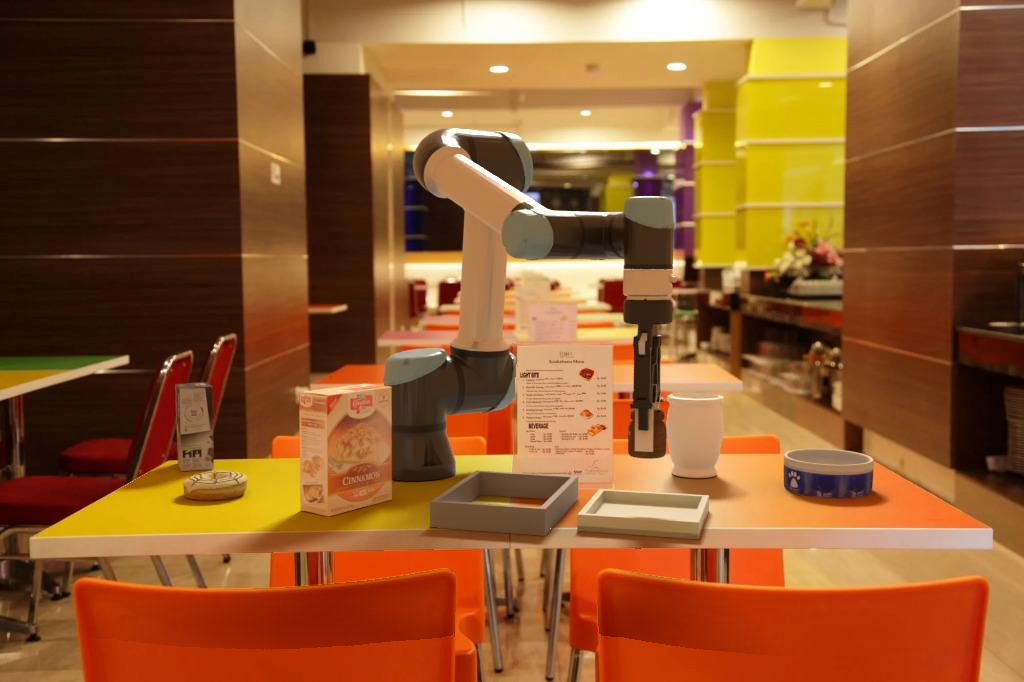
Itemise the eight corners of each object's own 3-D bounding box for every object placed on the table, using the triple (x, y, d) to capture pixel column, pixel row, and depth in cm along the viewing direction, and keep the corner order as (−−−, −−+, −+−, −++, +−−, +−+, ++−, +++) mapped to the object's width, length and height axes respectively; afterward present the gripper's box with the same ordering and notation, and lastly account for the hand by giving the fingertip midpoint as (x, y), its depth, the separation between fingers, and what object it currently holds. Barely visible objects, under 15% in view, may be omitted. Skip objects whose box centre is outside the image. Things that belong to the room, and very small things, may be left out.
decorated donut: (184, 491, 185) (184, 470, 185) (247, 488, 188) (246, 467, 188) (182, 504, 175) (181, 482, 175) (248, 500, 178) (248, 478, 178)
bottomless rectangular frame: (429, 527, 160) (429, 501, 159) (476, 493, 183) (476, 470, 182) (545, 535, 155) (545, 509, 155) (578, 499, 178) (578, 476, 178)
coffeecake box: (329, 517, 166) (327, 394, 164) (298, 510, 170) (296, 391, 169) (394, 500, 178) (393, 385, 176) (364, 494, 182) (363, 382, 181)
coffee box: (215, 469, 203) (213, 386, 202) (180, 472, 201) (178, 388, 199) (210, 460, 212) (208, 381, 210) (176, 463, 209) (174, 382, 208)
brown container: (672, 454, 164) (673, 378, 163) (654, 461, 159) (655, 382, 158) (639, 450, 167) (639, 375, 166) (620, 457, 162) (620, 379, 161)
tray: (577, 530, 158) (577, 514, 158) (599, 503, 175) (599, 488, 175) (698, 539, 153) (699, 522, 153) (708, 510, 170) (709, 495, 170)
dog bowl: (892, 494, 183) (893, 459, 183) (826, 503, 176) (827, 467, 176) (828, 477, 197) (829, 445, 196) (765, 485, 190) (765, 452, 189)
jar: (719, 469, 203) (721, 392, 202) (725, 480, 193) (726, 399, 192) (664, 468, 204) (665, 391, 203) (667, 479, 194) (667, 399, 193)
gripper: (665, 300, 151) (663, 459, 153) (679, 296, 169) (677, 438, 171) (613, 300, 153) (612, 457, 155) (633, 295, 171) (632, 436, 173)
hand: (646, 447), depth 163 cm, fingers closed on brown container, 6 cm apart
